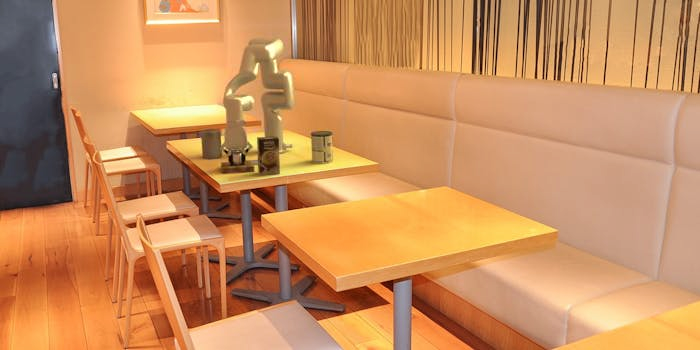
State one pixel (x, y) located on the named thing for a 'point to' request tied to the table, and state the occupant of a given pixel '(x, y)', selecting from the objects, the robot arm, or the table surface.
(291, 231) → the table surface
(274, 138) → the coffee box
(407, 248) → the table surface
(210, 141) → the pillar candle
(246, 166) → the brown wooden square frame
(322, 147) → the coffee can
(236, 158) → the end cap
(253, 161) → the rubber mat
